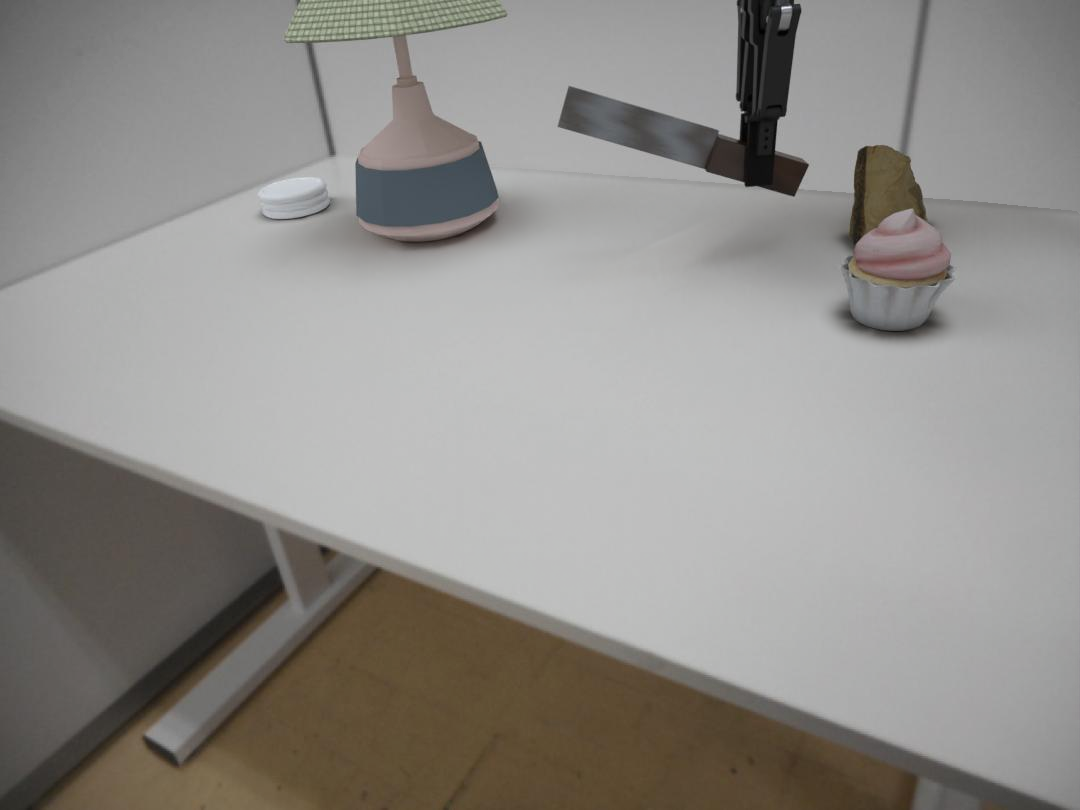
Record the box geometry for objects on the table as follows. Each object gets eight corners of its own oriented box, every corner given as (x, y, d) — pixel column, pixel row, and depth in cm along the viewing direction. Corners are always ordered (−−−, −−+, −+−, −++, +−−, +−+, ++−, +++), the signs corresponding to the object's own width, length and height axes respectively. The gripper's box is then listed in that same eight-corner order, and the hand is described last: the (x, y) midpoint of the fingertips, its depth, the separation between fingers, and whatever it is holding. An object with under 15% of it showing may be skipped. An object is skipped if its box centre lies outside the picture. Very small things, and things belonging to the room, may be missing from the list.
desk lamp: (573, 214, 99) (546, -180, 76) (389, 282, 84) (290, -177, 62) (463, 182, 116) (415, -146, 94) (294, 235, 102) (190, -138, 79)
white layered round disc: (311, 194, 118) (305, 172, 116) (342, 205, 112) (337, 182, 110) (252, 212, 113) (245, 189, 111) (281, 225, 106) (274, 200, 104)
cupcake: (924, 351, 62) (949, 236, 56) (816, 323, 67) (830, 216, 62) (961, 309, 67) (987, 200, 62) (858, 287, 73) (875, 185, 67)
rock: (913, 191, 88) (830, 188, 87) (955, 142, 80) (864, 138, 79) (929, 272, 84) (842, 268, 83) (974, 229, 76) (879, 225, 75)
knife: (787, 190, 80) (804, 153, 78) (794, 197, 78) (811, 159, 76) (557, 123, 76) (568, 83, 74) (557, 129, 74) (569, 87, 72)
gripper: (712, -80, 73) (704, 164, 85) (752, -82, 60) (735, 206, 72) (790, -88, 72) (770, 158, 85) (847, -91, 59) (813, 200, 72)
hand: (754, 180), depth 79 cm, fingers closed on knife, 2 cm apart
